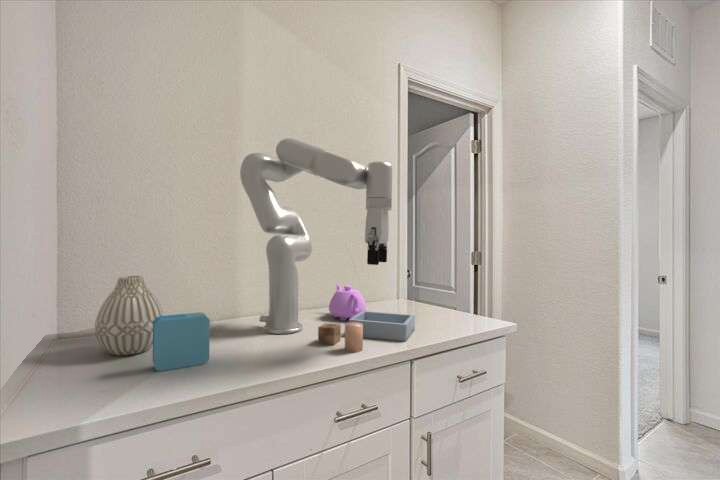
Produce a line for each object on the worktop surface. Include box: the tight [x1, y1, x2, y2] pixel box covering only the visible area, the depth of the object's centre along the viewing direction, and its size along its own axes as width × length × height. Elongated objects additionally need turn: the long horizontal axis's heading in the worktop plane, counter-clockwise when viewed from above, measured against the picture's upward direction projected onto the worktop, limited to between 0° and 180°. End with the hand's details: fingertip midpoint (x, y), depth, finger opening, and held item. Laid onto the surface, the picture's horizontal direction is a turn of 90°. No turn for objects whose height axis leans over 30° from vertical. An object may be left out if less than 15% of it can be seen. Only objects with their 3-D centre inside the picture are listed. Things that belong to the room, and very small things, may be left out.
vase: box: [94, 275, 165, 356], centre depth 101 cm, size 16×16×20 cm
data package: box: [152, 311, 211, 372], centre depth 91 cm, size 12×4×12 cm, turn 122°
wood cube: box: [317, 322, 342, 346], centre depth 111 cm, size 5×5×5 cm
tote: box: [348, 310, 416, 342], centre depth 123 cm, size 18×14×5 cm
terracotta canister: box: [344, 322, 364, 353], centre depth 105 cm, size 5×5×7 cm
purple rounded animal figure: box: [328, 282, 367, 322], centre depth 145 cm, size 20×14×12 cm
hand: (377, 263), depth 111 cm, fingers open, 9 cm apart
